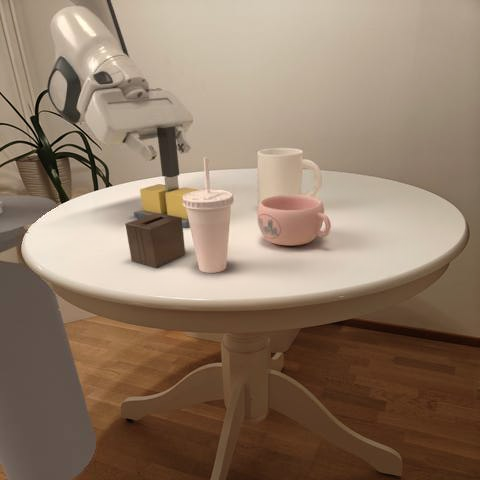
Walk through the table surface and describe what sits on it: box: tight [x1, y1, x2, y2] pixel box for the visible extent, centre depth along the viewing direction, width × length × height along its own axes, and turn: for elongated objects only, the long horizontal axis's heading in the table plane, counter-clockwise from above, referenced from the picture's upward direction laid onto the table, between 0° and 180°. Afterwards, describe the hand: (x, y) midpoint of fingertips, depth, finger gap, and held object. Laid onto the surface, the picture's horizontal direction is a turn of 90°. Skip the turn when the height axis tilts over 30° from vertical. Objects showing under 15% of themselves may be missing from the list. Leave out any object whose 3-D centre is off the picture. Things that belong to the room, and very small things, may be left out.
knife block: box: [124, 213, 186, 269], centre depth 59 cm, size 5×6×6 cm
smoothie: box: [183, 156, 235, 274], centre depth 54 cm, size 6×6×14 cm
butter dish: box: [133, 208, 190, 229], centre depth 78 cm, size 13×8×1 cm, turn 55°
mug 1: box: [256, 147, 323, 206], centre depth 79 cm, size 12×8×10 cm
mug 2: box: [256, 195, 332, 247], centre depth 63 cm, size 12×10×6 cm
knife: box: [157, 126, 180, 193], centre depth 75 cm, size 2×3×14 cm
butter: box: [139, 183, 200, 219], centre depth 77 cm, size 11×5×4 cm, turn 55°
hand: (170, 154), depth 73 cm, fingers open, 7 cm apart
